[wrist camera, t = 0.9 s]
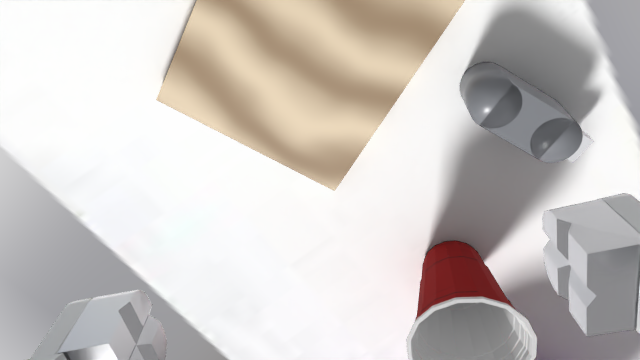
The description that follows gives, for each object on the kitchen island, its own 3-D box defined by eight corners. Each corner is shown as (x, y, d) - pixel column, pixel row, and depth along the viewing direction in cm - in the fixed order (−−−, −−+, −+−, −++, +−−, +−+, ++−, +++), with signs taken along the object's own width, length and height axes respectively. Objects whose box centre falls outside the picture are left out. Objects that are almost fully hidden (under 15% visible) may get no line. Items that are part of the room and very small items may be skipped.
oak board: (255, -136, 36) (251, -137, 35) (462, -5, 39) (465, -1, 38) (162, 93, 45) (156, 99, 44) (335, 182, 49) (334, 191, 48)
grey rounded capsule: (479, 53, 42) (491, 70, 38) (587, 119, 44) (609, 142, 40) (450, 92, 44) (458, 113, 40) (555, 154, 46) (572, 179, 42)
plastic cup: (463, 199, 49) (491, 284, 39) (523, 266, 53) (563, 360, 42) (376, 254, 53) (380, 344, 43) (437, 313, 57) (454, 409, 46)
